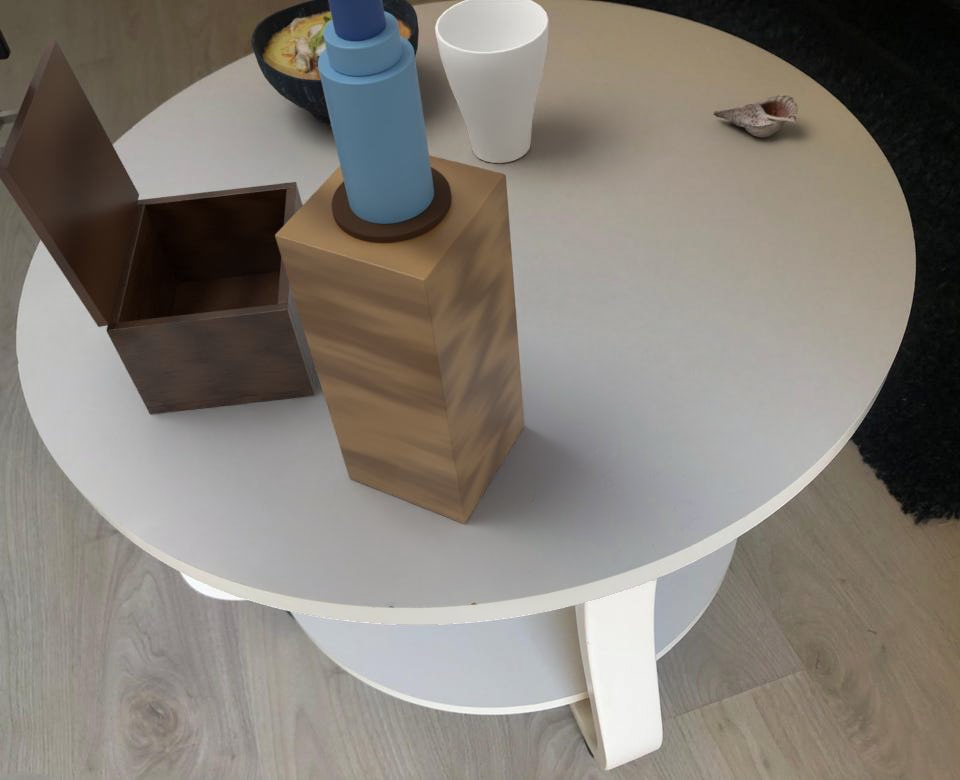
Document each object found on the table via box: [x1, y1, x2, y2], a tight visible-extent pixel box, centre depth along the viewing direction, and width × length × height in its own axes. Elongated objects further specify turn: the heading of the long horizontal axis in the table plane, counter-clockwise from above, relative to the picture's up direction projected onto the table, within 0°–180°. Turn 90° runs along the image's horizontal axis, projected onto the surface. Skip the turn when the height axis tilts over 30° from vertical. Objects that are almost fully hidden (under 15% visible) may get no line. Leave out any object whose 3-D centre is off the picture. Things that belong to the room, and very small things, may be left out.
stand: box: [275, 154, 525, 525], centre depth 67 cm, size 10×10×24 cm
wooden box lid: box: [0, 40, 140, 328], centre depth 73 cm, size 14×16×5 cm
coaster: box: [332, 167, 452, 243], centre depth 58 cm, size 7×7×1 cm
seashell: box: [713, 94, 799, 138], centre depth 98 cm, size 4×8×4 cm
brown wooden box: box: [105, 181, 316, 415], centre depth 83 cm, size 14×16×10 cm
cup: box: [434, 0, 550, 164], centre depth 96 cm, size 10×10×14 cm
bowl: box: [250, 0, 420, 125], centre depth 105 cm, size 17×17×10 cm
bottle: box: [318, 0, 434, 224], centre depth 53 cm, size 5×5×13 cm
